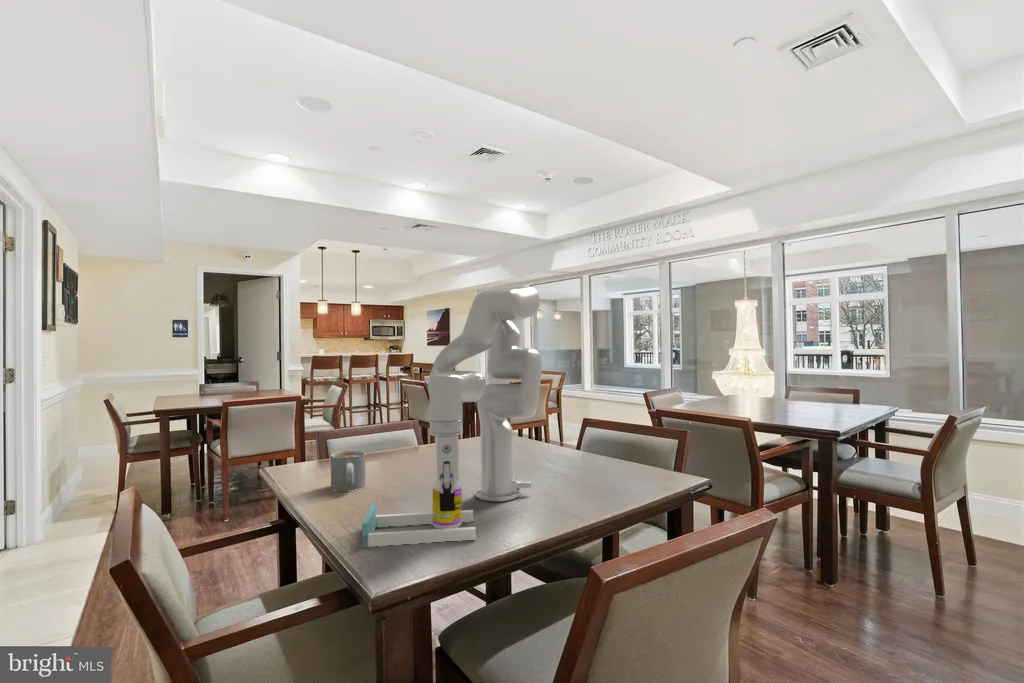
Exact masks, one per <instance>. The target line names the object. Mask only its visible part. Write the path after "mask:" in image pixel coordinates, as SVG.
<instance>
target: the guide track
mask: <svg viewBox="0 0 1024 683" xmlns="http://www.w3.org/2000/svg"><path fill="white" fill-rule="evenodd" d="M377 509H378V507H377V504H371V505H370V507H369V509H368V511H367V512H366V515H365V517H364V519H363V521H362V523H361V543H362V544H361V546H362V547H361V548H376V546H378V547H389V546H388V545H394V546H403V545H402V544H410V545H419V543H426V544H432V543H431V542H442V543H444V542H443V541H457V540H458V542H462V541H461V540H474V541H476V540H477V533H476V532H477V530H476V526H467V527H466V526H465V527H457V528H447V529H437V528H432V529H420V530H419V529H417V530H415V529H414V530H400V531H399V530H398V531H396V530H395V531H383V532H376V529H375V528H376V527H378V528H389V527H388V526H395V527H408V526H407V525H412V526H422V525H421V524H430V525H433V511H429V512H409V513H393V514H391V513H389V514H377V513H378V512H377ZM471 521H473V522H474V510H473V509H466V510H465V509H464V510H463V509H462V522H465V523H472V522H471ZM419 524H420V525H419Z"/></svg>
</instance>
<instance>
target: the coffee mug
mask: <svg viewBox="0 0 1024 683" xmlns="http://www.w3.org/2000/svg"><path fill="white" fill-rule="evenodd" d="M364 486H365V487H366V452H365V451H363V450H344V451H338V452H335V453H332V454H330V490H331V489H332V490H331V491H333V490H336V491H335V492H337V491H349V490H355V489H359V488H362V487H364ZM365 487H364V488H365ZM362 489H363V488H362ZM359 490H360V489H359ZM355 491H356V490H355ZM349 492H350V491H349Z"/></svg>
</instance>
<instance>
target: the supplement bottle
mask: <svg viewBox="0 0 1024 683" xmlns="http://www.w3.org/2000/svg"><path fill="white" fill-rule="evenodd" d="M449 469H450V467H449ZM436 476H437V475H436ZM440 476H441V475H440ZM450 478H451V476H450ZM442 479H444V477H443V472H442ZM443 483H444V482H443ZM450 483H451V482H450ZM462 484H463V483H462V482H461V480H460V479H458V480H457V478H455V479H454V477H453V492H454V511H440V493H441V479H440V480H438V476H437V479H435V480H434V481H433V483H432V512H433V524H432V525H433V527H434V529H447V528H460V526H461V525H462V524H463V523H462V510H463V509H462V508H463V507H462V506H463V503H462V502H463V501H462V498H463V496H462V494H463V493H462V492H463V490H462V487H463V486H462Z"/></svg>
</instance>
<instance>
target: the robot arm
mask: <svg viewBox="0 0 1024 683" xmlns="http://www.w3.org/2000/svg"><path fill="white" fill-rule="evenodd" d="M539 307H540V296H539V293H538V291H537V290H536V289H535V288H534V287H532V286H519V287H517V286H516V287H501V288H492V289H490V290H484V291H481V292H479V293H477V294H476V295H475V297H474V299H473V301H472V304H471V307H470V310H469V312H468V315H467V318H466V320H465V324H464V327H463V329H462V332H461V334H460V335H458V336H457V337H456V338H454V339H453V340H452V341H451V342H449V343H448V344H447V345H446V346H445V347H444V348H443V349H442V350H441V351H440V352H439V353H438V355H437V357H435V360H434V361H433V365H432V368H431V370H430V373H429V376H428V381H427V390H428V394H429V435H430V436H431V437H432V436H433V437H434V439H435V440H434V444H435V448H434V449H435V465H436V476H438V477H437V479H438V480H440V479H441V493H440V511H454V492H453V477H454V479H455V478H457V480H460V440H459V438H460V437H459V436H460V435H462V434H464V427H463V426H464V425H463V424H464V419H463V418H464V416H463V415H464V414H463V412H464V410H463V403H473V402H476V405H477V406H476V407H477V412H478V416H479V418H478V419H479V429H480V434H479V435H480V487H479V488H477V489H476V490H475V497H476V498H477V499H479V500H481V501H486V502H507V501H512V500H514V499H517V498H519V497H520V495H521V491H520V490H521V489H531V488H532V483H531V480H529V481H526V480H525V479H523V480H522V479H521V480H518V479H516V477H515V433H514V430H513V426H512V425H511V423H510V422H509V420H508V419H524V420H525V419H526V420H527V419H531V418H533V417H534V416H535V415H536V414H537V410H538V405H539V400H540V399H539V398H540V391H541V389H540V388H541V383H542V382H541V381H542V380H541V379H542V370H543V363H542V357H541V355H540V353H539V351H538V350H536V349H534V348H531V347H520V342H521V332H520V331H519V328H518V327H517V326H516V325H515V323H514V322H513V321H523V320H525V319H527V318H530V317H533V316H535V314H536V313H537V312H538V310H539ZM488 350H489V353H488V360H487V368H486V369H487V374H488V376H489V377H490V378H491V379H493V380H495V381H509V382H511V381H512V382H521V383H488V384H487V381H486V379H485V377H484V376H483V375H482V374H481V373H480V372H478V371H474V370H454V369H455V368H456V366H458V365H459V364H460V363H462V362H464V361H466V360H467V359H469V358H470V359H471V358H473V357H475V356H477V355H479V354H481V353H484V352H486V351H488ZM449 467H450V469H449ZM442 472H443V477H444V479H442ZM440 475H441V476H440ZM450 476H451V478H450ZM443 482H444V483H443ZM450 482H451V483H450Z"/></svg>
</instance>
